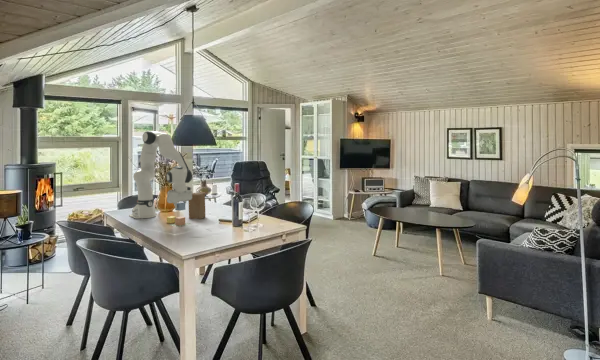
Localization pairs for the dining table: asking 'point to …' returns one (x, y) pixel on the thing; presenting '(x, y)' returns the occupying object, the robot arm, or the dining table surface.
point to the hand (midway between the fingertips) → (180, 207)
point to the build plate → (180, 225)
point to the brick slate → (180, 206)
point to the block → (197, 206)
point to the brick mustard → (171, 219)
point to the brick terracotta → (180, 221)
